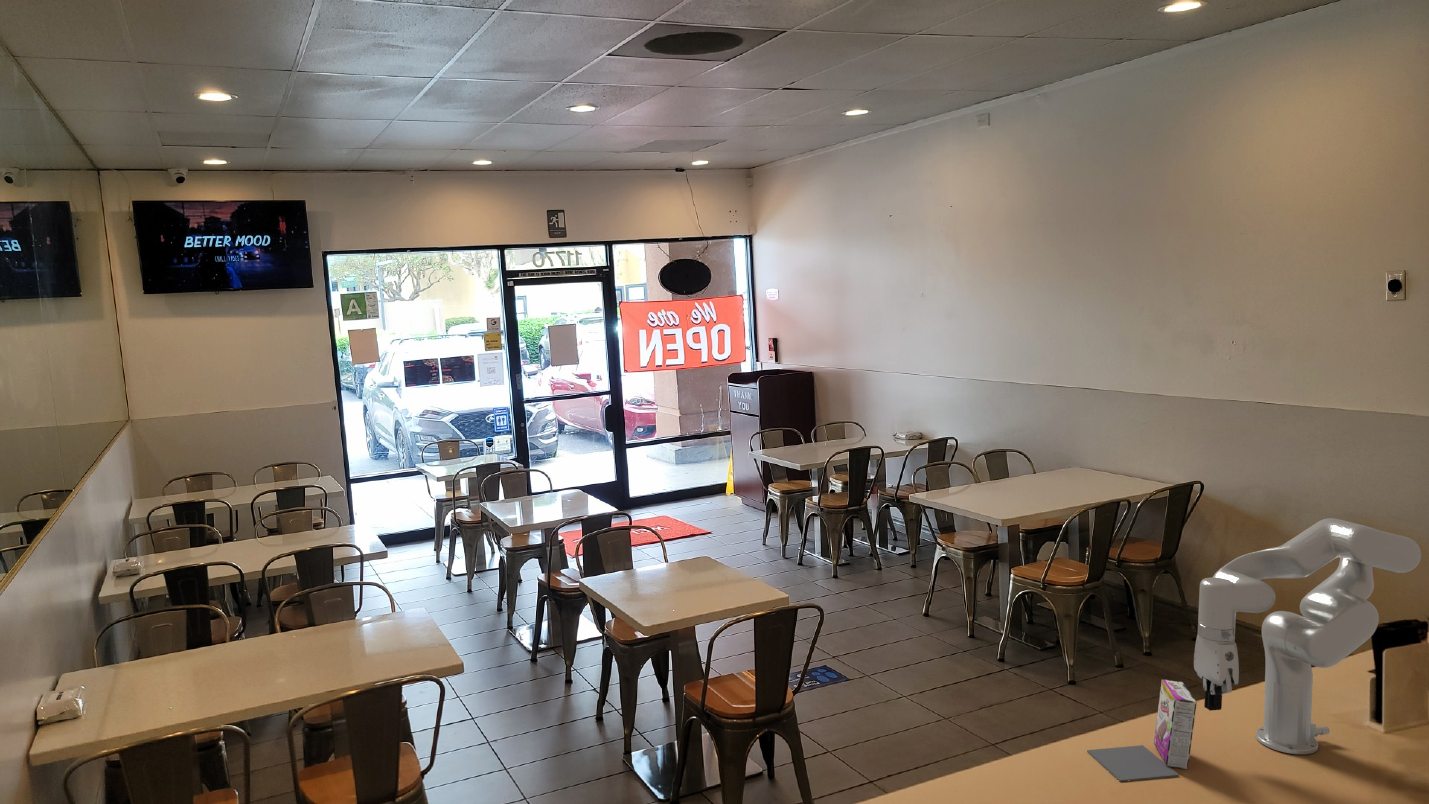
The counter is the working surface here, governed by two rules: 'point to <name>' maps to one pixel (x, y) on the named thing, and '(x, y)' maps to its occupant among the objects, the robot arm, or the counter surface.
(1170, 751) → the candy bar box
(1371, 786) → the counter surface
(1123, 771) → the rubber mat
